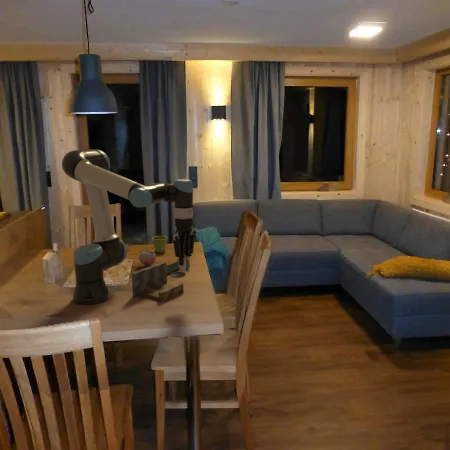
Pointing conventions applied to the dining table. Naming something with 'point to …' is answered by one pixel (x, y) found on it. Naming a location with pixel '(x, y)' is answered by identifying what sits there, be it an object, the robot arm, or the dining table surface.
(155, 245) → the plant pot
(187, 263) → the pocket watch
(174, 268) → the smart home device
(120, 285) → the dining table surface
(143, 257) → the decorative fruit
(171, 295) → the display stand
